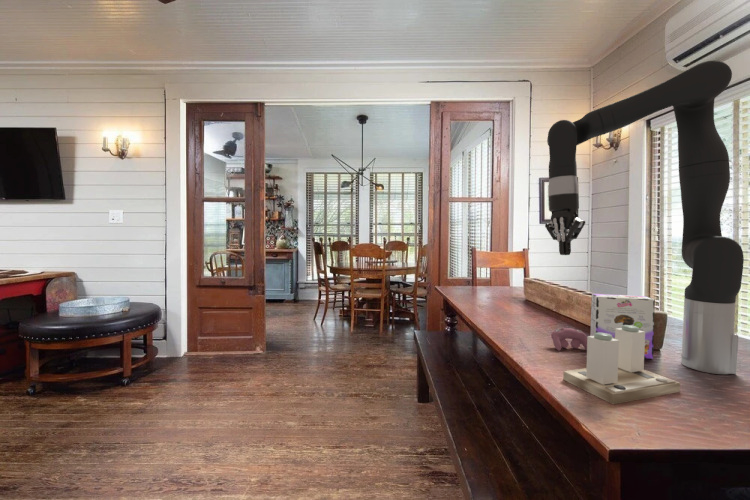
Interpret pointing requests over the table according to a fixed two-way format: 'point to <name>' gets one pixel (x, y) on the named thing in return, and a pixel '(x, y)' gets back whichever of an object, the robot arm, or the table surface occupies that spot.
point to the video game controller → (568, 333)
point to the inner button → (630, 348)
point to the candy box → (623, 316)
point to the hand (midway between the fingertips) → (564, 254)
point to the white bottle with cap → (602, 358)
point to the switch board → (624, 385)
